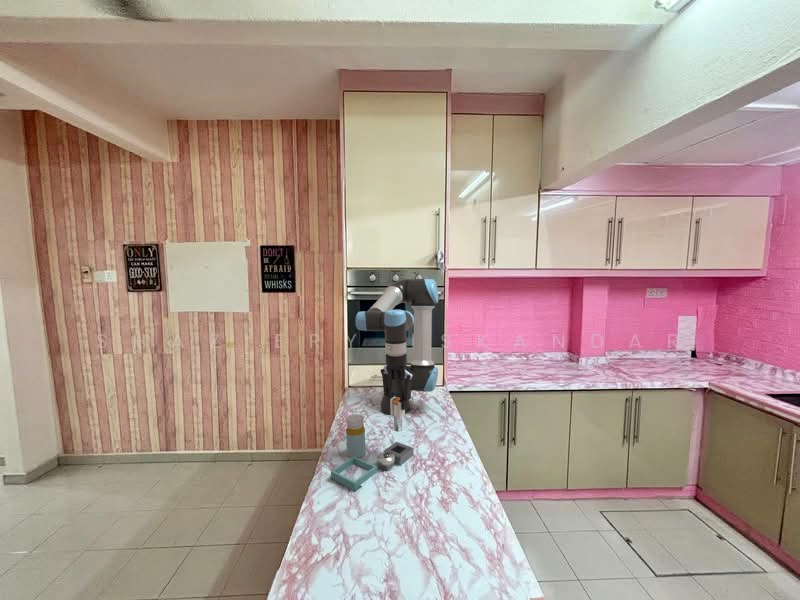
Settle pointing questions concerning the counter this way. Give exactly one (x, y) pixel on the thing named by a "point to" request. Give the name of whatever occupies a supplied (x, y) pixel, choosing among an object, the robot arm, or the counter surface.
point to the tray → (348, 482)
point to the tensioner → (394, 455)
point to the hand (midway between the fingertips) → (397, 416)
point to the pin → (397, 415)
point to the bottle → (355, 436)
